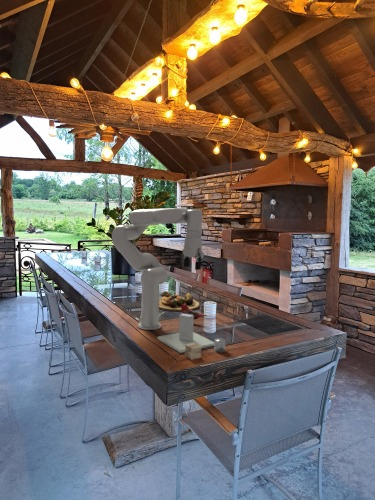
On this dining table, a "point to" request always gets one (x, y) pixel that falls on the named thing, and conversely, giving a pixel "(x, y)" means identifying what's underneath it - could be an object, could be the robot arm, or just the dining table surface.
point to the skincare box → (186, 327)
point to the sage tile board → (179, 345)
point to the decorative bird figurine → (190, 311)
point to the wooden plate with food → (176, 302)
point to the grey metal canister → (219, 345)
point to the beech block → (193, 351)
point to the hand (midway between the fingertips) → (192, 268)
